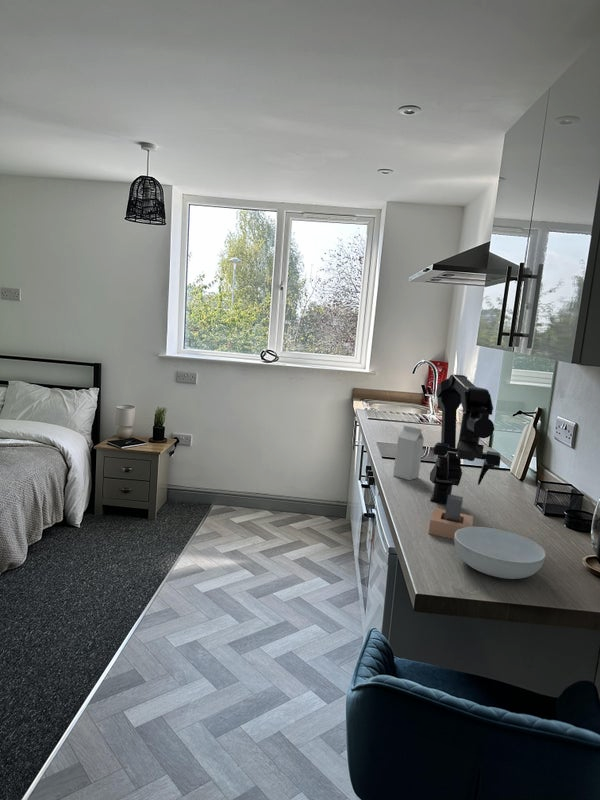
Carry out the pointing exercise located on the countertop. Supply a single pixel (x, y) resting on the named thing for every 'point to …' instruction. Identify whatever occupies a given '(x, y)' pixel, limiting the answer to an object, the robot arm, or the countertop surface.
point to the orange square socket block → (447, 524)
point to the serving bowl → (499, 552)
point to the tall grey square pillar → (453, 508)
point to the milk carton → (408, 453)
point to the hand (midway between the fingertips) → (462, 481)
